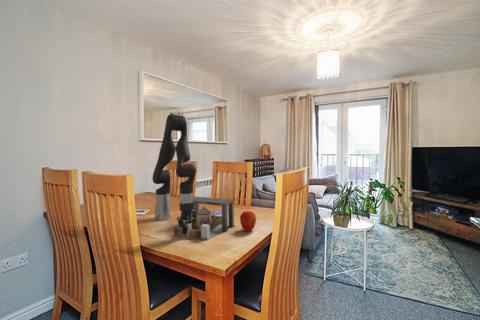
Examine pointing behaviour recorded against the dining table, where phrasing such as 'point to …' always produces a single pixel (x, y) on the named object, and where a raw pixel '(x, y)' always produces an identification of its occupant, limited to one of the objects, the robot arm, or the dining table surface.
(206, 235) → the light grey block
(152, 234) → the dining table surface
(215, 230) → the strip grey far
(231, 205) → the shelf
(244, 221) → the apple
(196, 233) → the sled walnut
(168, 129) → the robot arm
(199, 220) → the teacup with lid
